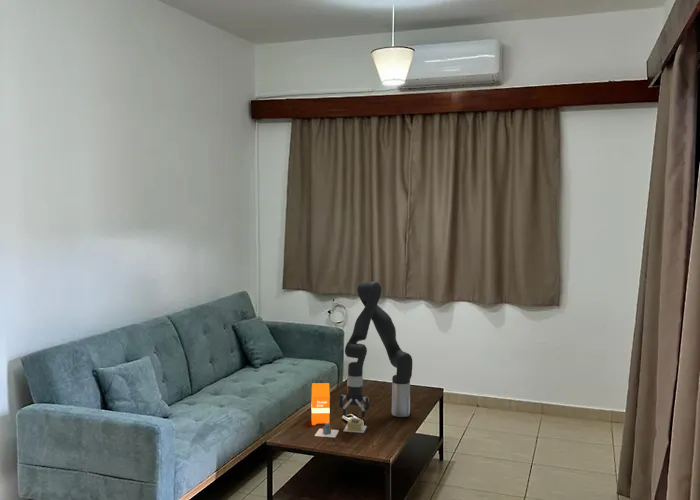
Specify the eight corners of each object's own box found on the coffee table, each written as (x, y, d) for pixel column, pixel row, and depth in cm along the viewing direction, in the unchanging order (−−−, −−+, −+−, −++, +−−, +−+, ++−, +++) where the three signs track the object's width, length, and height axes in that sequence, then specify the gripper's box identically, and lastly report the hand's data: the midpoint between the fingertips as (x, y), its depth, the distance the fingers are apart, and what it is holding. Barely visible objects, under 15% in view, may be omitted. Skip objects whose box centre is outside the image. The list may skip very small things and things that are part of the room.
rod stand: (367, 427, 326) (367, 416, 325) (363, 434, 316) (363, 423, 315) (347, 425, 327) (347, 415, 327) (343, 432, 318) (343, 422, 317)
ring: (362, 426, 324) (362, 419, 324) (360, 431, 318) (360, 424, 317) (349, 425, 325) (350, 418, 325) (347, 430, 319) (347, 423, 319)
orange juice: (311, 419, 335) (311, 381, 334) (328, 419, 336) (329, 380, 335) (311, 425, 328) (312, 385, 326) (329, 424, 328) (330, 385, 327)
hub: (339, 431, 319) (339, 420, 318) (335, 439, 309) (335, 427, 309) (319, 430, 321) (319, 419, 320) (314, 437, 311) (314, 426, 310)
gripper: (370, 383, 322) (369, 415, 323) (342, 380, 325) (341, 413, 326) (368, 387, 315) (367, 420, 316) (338, 385, 318) (338, 418, 319)
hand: (354, 416), depth 321 cm, fingers open, 8 cm apart
